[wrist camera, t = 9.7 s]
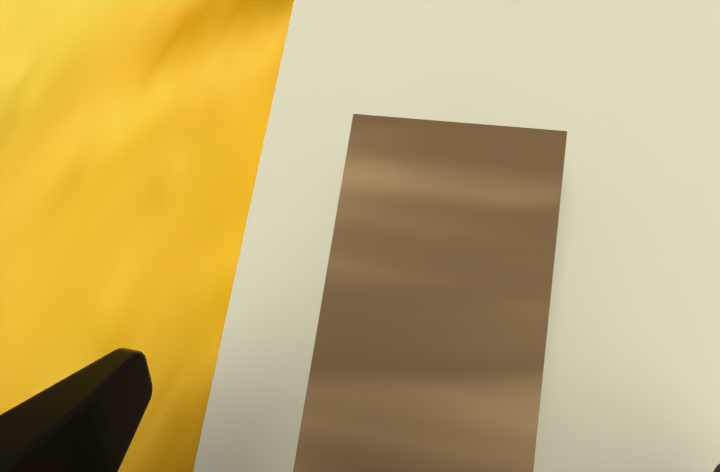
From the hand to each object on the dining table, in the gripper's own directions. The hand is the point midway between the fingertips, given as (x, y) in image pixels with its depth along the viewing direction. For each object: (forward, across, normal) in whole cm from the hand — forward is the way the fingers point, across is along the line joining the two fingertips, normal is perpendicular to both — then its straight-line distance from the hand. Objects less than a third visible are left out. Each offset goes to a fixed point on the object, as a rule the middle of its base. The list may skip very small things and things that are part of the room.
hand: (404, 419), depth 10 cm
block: (+8, 0, -1) cm, 8 cm away
